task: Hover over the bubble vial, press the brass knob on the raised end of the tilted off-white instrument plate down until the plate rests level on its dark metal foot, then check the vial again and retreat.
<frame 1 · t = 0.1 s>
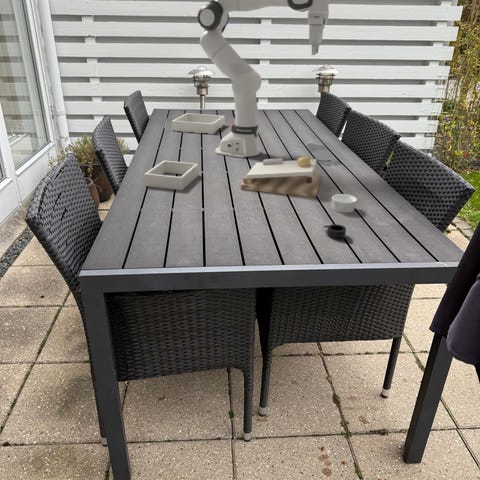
hand: (314, 54, 207), 48 cm above the table, fingers open, 8 cm apart
duct tape: (335, 236, 149), on the table
instrument plate: (282, 165, 189), point 8 cm above the table, hinge at 9.0°
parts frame: (172, 180, 195), on the table
white square tray: (199, 128, 283), on the table
instrument stand: (282, 184, 193), on the table
ramekin: (342, 209, 170), on the table
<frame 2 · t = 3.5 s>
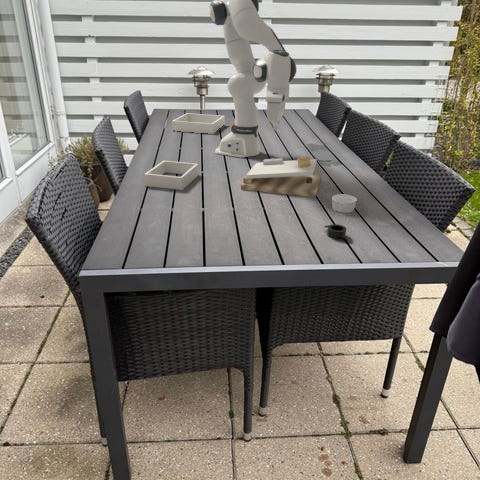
hand: (275, 129, 190), 21 cm above the table, fingers closed
nothing on the table moved.
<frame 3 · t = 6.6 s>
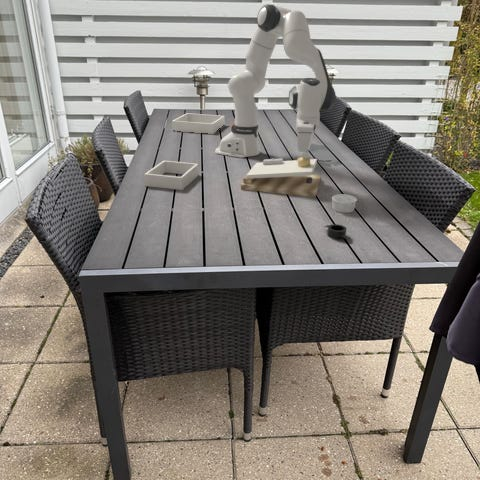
hand: (304, 157, 186), 12 cm above the table, fingers closed, pressing on instrument plate
instrument plate: (282, 165, 189), point 8 cm above the table, hinge at 9.0°, touching gripper
everything else where it was.
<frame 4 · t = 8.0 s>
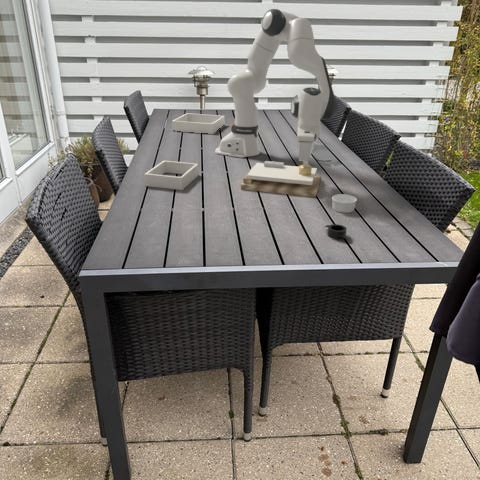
hand: (305, 166, 187), 9 cm above the table, fingers closed
instrument plate: (283, 169, 190), point 6 cm above the table, hinge at 0.1°
everything else where it was.
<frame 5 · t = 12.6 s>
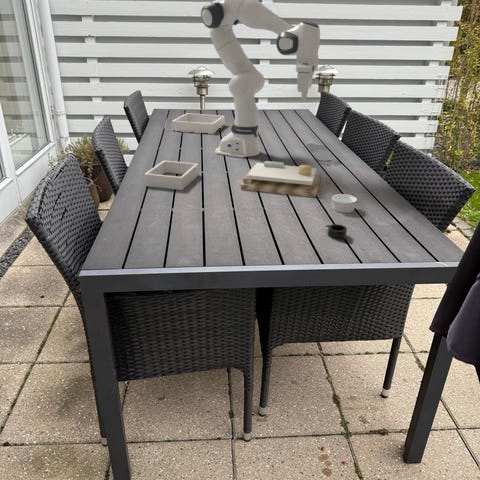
hand: (304, 100, 196), 31 cm above the table, fingers closed
nothing on the table moved.
at the end: instrument plate at +0° (first picture: +9°) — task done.
